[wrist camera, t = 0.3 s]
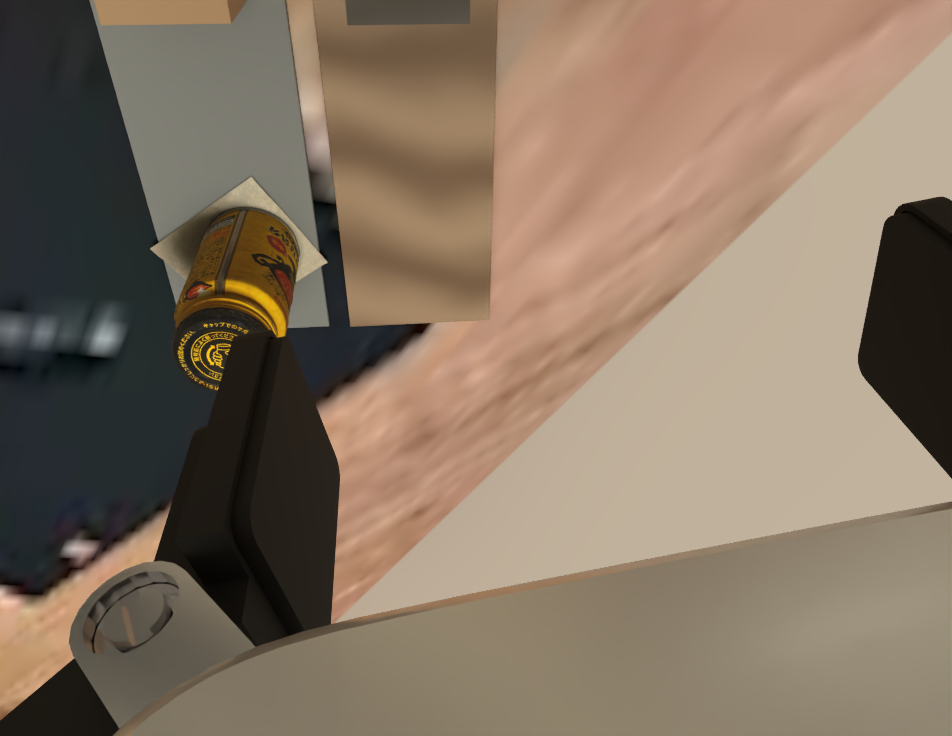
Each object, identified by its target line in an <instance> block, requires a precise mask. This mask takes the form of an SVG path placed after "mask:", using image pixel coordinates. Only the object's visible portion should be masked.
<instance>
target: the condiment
mask: <svg viewBox="0 0 952 736" xmlns="http://www.w3.org/2000/svg"><path fill="white" fill-rule="evenodd" d="M150 249H151V250H152V251H153V252H154V253H155V254H156V255H157V256H159V257H160V258H162V259H163V260H164V261H165V262H166V263H167V264H168V265H169V266H171V267H172V268H173V269H174V270H175V271H176V272H177V273H178V274H179V275H180V276H182V277H183V278H184V279H185V280H186V283H185V285H184V287H183V290H182V292H181V294H180V297H179V300H178V302H177V305H176V309H175V313H174V318H175V326H176V328H175V330H174V335H173V336H172V338H171V340H172V343H171V348H172V355H173V357H174V359H175V362H176V366H177V368H178V369H179V370H180V371H181V372H182V374H183V375H184V376H186V377H187V378H188V379H189V380H190V381H191V382H193V383H195V384H197V385H198V386H200V387H202V388H204V389H207V390H212V391H216V392H217V391H218V388H219V384H220V381H221V377H222V374H223V370H224V367H225V363H226V360H227V357H228V353H229V350H230V346H231V343H232V340H233V338H234V337H236V336H240V335H245V334H250V333H255V332H260V331H265V330H272V331H273V332H274V333H275V335H276V337H277V338H278V337H283V336H286V331H287V328H288V324H289V321H288V319H289V314H290V309H291V305H292V301H293V293H294V287H295V283H296V282H297V281H299V280H300V279H302V278H303V277H305V276H306V275H308V274H310V273H312V272H313V271H314V270H316V269H317V268H319V267H321V266H322V265H324V264H326V263H328V262H327V261H326V260H325V259H324V257H323V256H322V255H321V254H320V253H319V252H318V251H317V249H316V248H315V247H314V246H313V245H312V244H311V243H310V241H309V240H308V239H307V238H306V237H305V235H304V234H303V233H302V232H301V231H300V230H299V229H298V228H297V226H296V225H295V224H294V223H293V222H292V221H291V220H290V219H289V218H288V217H287V215H286V214H285V213H284V212H283V211H282V210H281V209H280V208H279V207H278V205H277V204H276V203H275V202H274V201H273V200H272V199H271V198H270V197H269V196H268V195H267V194H266V193H265V192H264V190H263V189H262V188H261V187H260V186H259V185H258V184H257V183H256V182H255V180H254V179H253V178H252V177H250V178H249V179H248V180H246V181H245V182H243V183H242V184H240V185H239V186H237V187H236V188H235V189H233V190H232V191H230V192H229V193H227V194H226V195H225V196H223V197H222V198H220V199H219V200H217V201H216V202H214V203H213V204H212V205H211V206H209V207H207V208H206V209H205V210H203V211H202V212H201V213H199V214H198V215H196V216H195V217H194V218H193V219H191V220H190V221H189V222H187V223H185V224H184V225H183V226H181V227H180V228H178V229H177V230H175V231H174V232H172V233H171V234H170V235H168V236H167V237H166V238H165V239H163V240H162V241H161V242H159V243H157V244H156V245H155V246H153V247H152V248H150Z"/></svg>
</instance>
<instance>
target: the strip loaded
mask: <svg viewBox="0 0 952 736" xmlns="http://www.w3.org/2000/svg"><path fill="white" fill-rule="evenodd" d="M90 4H91V7H92V11H93V14H94V18H95V21H96V25H97V28H98V32H99V35H100V39H101V42H102V46H103V49H104V53H105V56H106V60H107V63H108V67H109V70H110V74H111V77H112V81H113V84H114V88H115V91H116V95H117V98H118V102H119V105H120V109H121V112H122V116H123V119H124V123H125V126H126V130H127V133H128V137H129V140H130V144H131V147H132V151H133V154H134V158H135V161H136V165H137V168H138V172H139V175H140V179H141V182H142V186H143V189H144V193H145V196H146V200H147V203H148V207H149V210H150V214H151V217H152V221H153V224H154V228H155V231H156V235H157V238H158V242H161V241H162V240H163V239H165V238H166V237H167V236H168V235H170V234H171V233H172V232H174V231H175V230H177V229H178V228H180V227H181V226H183V225H184V224H185V223H187V222H189V221H190V220H191V219H193V218H194V217H195V216H196V215H198V214H199V213H201V212H202V211H203V210H205V209H206V208H207V207H209V206H211V205H212V204H213V203H214V202H216V201H217V200H219V199H220V198H222V197H223V196H225V195H226V194H227V193H229V192H230V191H232V190H233V189H235V188H236V187H237V186H239V185H240V184H242V183H243V182H245V181H246V180H248V179H249V178H250V177H252V178H253V179H254V180H255V182H256V183H257V184H258V185H259V186H260V187H261V188H262V189H263V190H264V192H265V193H266V194H267V195H268V196H269V197H270V198H271V199H272V200H273V201H274V202H275V203H276V204H277V205H278V207H279V208H280V209H281V210H282V211H283V212H284V213H285V214H286V215H287V217H288V218H289V219H290V220H291V221H292V222H293V223H294V224H295V225H296V226H297V228H298V229H299V230H300V231H301V232H302V233H303V234H304V235H305V237H306V238H307V239H308V240H309V241H310V243H311V244H312V245H313V246H314V247H315V248H316V249H317V251H318V252H319V253H320V249H319V241H318V234H317V227H316V219H315V212H314V204H313V197H312V190H311V182H310V175H309V168H308V160H307V153H306V146H305V138H304V131H303V123H302V116H301V109H300V101H299V94H298V87H297V79H296V72H295V65H294V57H293V50H292V42H291V35H290V28H289V20H288V13H287V6H286V0H90ZM164 263H165V266H166V270H167V273H168V277H169V280H170V284H171V287H172V291H173V294H174V298H175V301H176V305H177V302H178V300H179V297H180V294H181V292H182V290H183V287H184V285H185V283H186V280H185V279H184V278H183V277H182V276H180V275H179V274H178V273H177V272H176V271H175V270H174V269H173V268H172V267H171V266H169V265H168V264H167V263H166V262H165V261H164ZM288 321H289V324H288V328H298V327H319V326H329V315H328V308H327V300H326V293H325V286H324V278H323V271H322V266H321V267H319V268H317V269H316V270H314V271H313V272H312V273H310V274H308V275H306V276H305V277H303V278H302V279H300V280H299V281H297V282H296V283H295V287H294V293H293V301H292V305H291V309H290V314H289V319H288Z"/></svg>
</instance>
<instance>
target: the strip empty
mask: <svg viewBox="0 0 952 736" xmlns="http://www.w3.org/2000/svg"><path fill="white" fill-rule="evenodd" d="M497 2H498V0H313V5H314V13H315V22H316V31H317V40H318V48H319V57H320V66H321V74H322V83H323V92H324V100H325V109H326V118H327V126H328V135H329V144H330V153H331V161H332V170H333V179H334V187H335V196H336V205H337V213H338V222H339V231H340V239H341V248H342V257H343V266H344V274H345V283H346V292H347V300H348V309H349V318H350V326H351V327H353V326H374V325H394V324H415V323H435V322H456V321H476V320H489V314H490V275H491V236H492V197H493V158H494V119H495V80H496V41H497Z"/></svg>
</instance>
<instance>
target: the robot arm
mask: <svg viewBox="0 0 952 736" xmlns="http://www.w3.org/2000/svg"><path fill="white" fill-rule="evenodd" d="M858 364H859V368H860V371H861V373H862V375H863V377H864V378H865V379H866V381H867V382H868V383H869V384H870V385H871V386H872V387H873V389H874V390H875V391H876V392H877V393H878V394H879V395H880V397H881V398H882V399H883V400H884V401H885V402H886V403H887V405H888V406H889V407H890V408H891V409H892V410H893V412H894V413H895V414H896V415H897V416H898V417H899V418H900V420H901V421H902V422H903V423H904V424H905V425H906V427H907V428H908V429H909V430H910V431H911V432H912V433H913V435H914V436H915V437H916V438H917V439H918V440H919V441H920V443H922V445H923V446H924V447H925V448H926V449H927V451H928V452H929V453H930V454H931V455H932V456H933V458H934V459H935V460H936V461H937V462H938V463H939V464H940V466H941V467H942V468H943V469H944V470H945V471H946V472H947V474H948V475H949V476H950V477H951V478H952V201H951V200H950V199H947V198H945V197H936V198H931V199H926V200H921V201H916V202H911V203H906V204H902V205H901V206H899V207H898V208H897V210H896V211H895V213H894V215H893V216H890V217H889V218H888V219H887V220H886V221H885V223H884V227H883V231H882V237H881V241H880V246H879V251H878V256H877V262H876V267H875V272H874V277H873V282H872V287H871V292H870V297H869V302H868V308H867V313H866V318H865V323H864V328H863V333H862V338H861V343H860V348H859V353H858ZM339 486H340V473H339V466H338V462H337V458H336V455H335V453H334V450H333V448H332V445H331V443H330V440H329V438H328V435H327V433H326V430H325V428H324V425H323V423H322V420H321V418H320V415H319V413H318V410H317V408H316V405H315V403H314V400H313V398H312V395H311V393H310V390H309V388H308V385H307V382H306V380H305V377H304V375H303V372H302V370H301V367H300V365H299V362H298V360H297V357H296V355H295V352H294V350H293V347H292V345H291V343H290V341H289V339H288V338H287V337H286V336H283V337H278V338H277V337H276V335H275V333H274V332H273V331H272V330H265V331H260V332H255V333H250V334H245V335H240V336H236V337H234V338H233V340H232V343H231V346H230V350H229V353H228V357H227V360H226V363H225V367H224V370H223V374H222V377H221V381H220V384H219V388H218V391H217V395H216V398H215V401H214V405H213V408H212V412H211V415H210V419H209V422H208V426H205V427H200V428H199V429H198V430H196V431H195V433H194V435H193V437H192V440H191V443H190V446H189V450H188V453H187V456H186V459H185V463H184V466H183V469H182V472H181V475H180V479H179V482H178V485H177V488H176V492H175V495H174V498H173V501H172V505H171V508H170V511H169V514H168V518H167V521H166V524H165V527H164V530H163V534H162V537H161V540H160V543H159V547H158V550H157V553H156V556H155V560H154V562H146V563H141V564H139V565H136V566H133V567H130V568H128V569H125V570H123V571H122V572H120V573H118V574H117V575H115V576H113V577H112V578H110V579H108V580H107V581H106V582H105V583H103V584H102V585H101V586H100V587H99V588H98V589H97V590H95V591H94V592H93V593H92V594H91V595H90V596H89V598H88V599H87V600H86V601H85V603H84V604H83V605H82V607H81V608H80V609H79V611H78V613H77V615H76V617H75V619H74V621H73V623H72V626H71V631H70V638H69V644H70V647H71V651H72V654H73V656H74V659H73V660H72V661H71V662H69V663H68V664H67V665H66V666H65V667H64V668H62V669H61V670H60V671H59V672H58V673H56V674H55V675H54V676H53V677H52V678H50V679H49V680H48V681H47V682H46V683H45V684H43V685H42V686H41V687H40V688H39V689H37V690H36V691H35V692H34V693H33V694H31V695H30V696H29V697H28V698H27V699H25V700H24V701H23V702H22V703H21V704H20V705H18V706H17V707H16V708H15V709H14V710H12V711H11V712H10V713H9V714H8V715H6V716H5V717H4V718H3V719H2V720H1V721H0V736H952V502H947V503H941V504H936V505H930V506H925V507H919V508H914V509H909V510H903V511H898V512H893V513H887V514H882V515H876V516H871V517H865V518H861V519H855V520H850V521H845V522H840V523H834V524H828V525H823V526H818V527H813V528H807V529H802V530H797V531H792V532H787V533H782V534H776V535H771V536H766V537H761V538H755V539H749V540H744V541H739V542H734V543H729V544H723V545H718V546H713V547H708V548H703V549H697V550H692V551H687V552H682V553H677V554H671V555H667V556H661V557H656V558H650V559H645V560H640V561H635V562H630V563H625V564H620V565H615V566H609V567H605V568H600V569H594V570H589V571H585V572H579V573H574V574H569V575H564V576H559V577H554V578H549V579H543V580H538V581H533V582H528V583H524V584H518V585H513V586H508V587H503V588H498V589H493V590H487V591H482V592H477V593H472V594H467V595H463V596H458V597H453V598H449V599H444V600H439V601H434V602H429V603H425V604H420V605H415V606H411V607H406V608H401V609H396V610H392V611H387V612H382V613H378V614H373V615H369V616H364V617H359V618H355V619H351V620H347V621H343V622H339V623H335V624H331V611H332V595H333V579H334V564H335V548H336V533H337V517H338V501H339Z"/></svg>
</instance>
